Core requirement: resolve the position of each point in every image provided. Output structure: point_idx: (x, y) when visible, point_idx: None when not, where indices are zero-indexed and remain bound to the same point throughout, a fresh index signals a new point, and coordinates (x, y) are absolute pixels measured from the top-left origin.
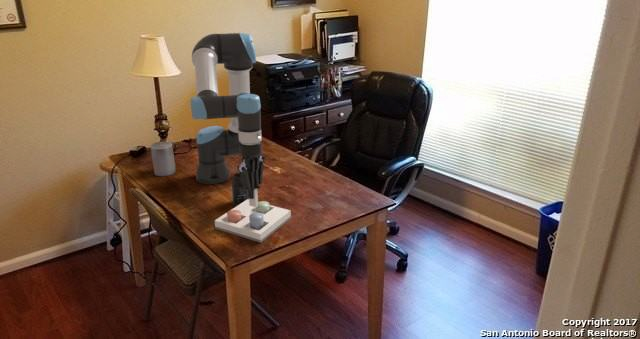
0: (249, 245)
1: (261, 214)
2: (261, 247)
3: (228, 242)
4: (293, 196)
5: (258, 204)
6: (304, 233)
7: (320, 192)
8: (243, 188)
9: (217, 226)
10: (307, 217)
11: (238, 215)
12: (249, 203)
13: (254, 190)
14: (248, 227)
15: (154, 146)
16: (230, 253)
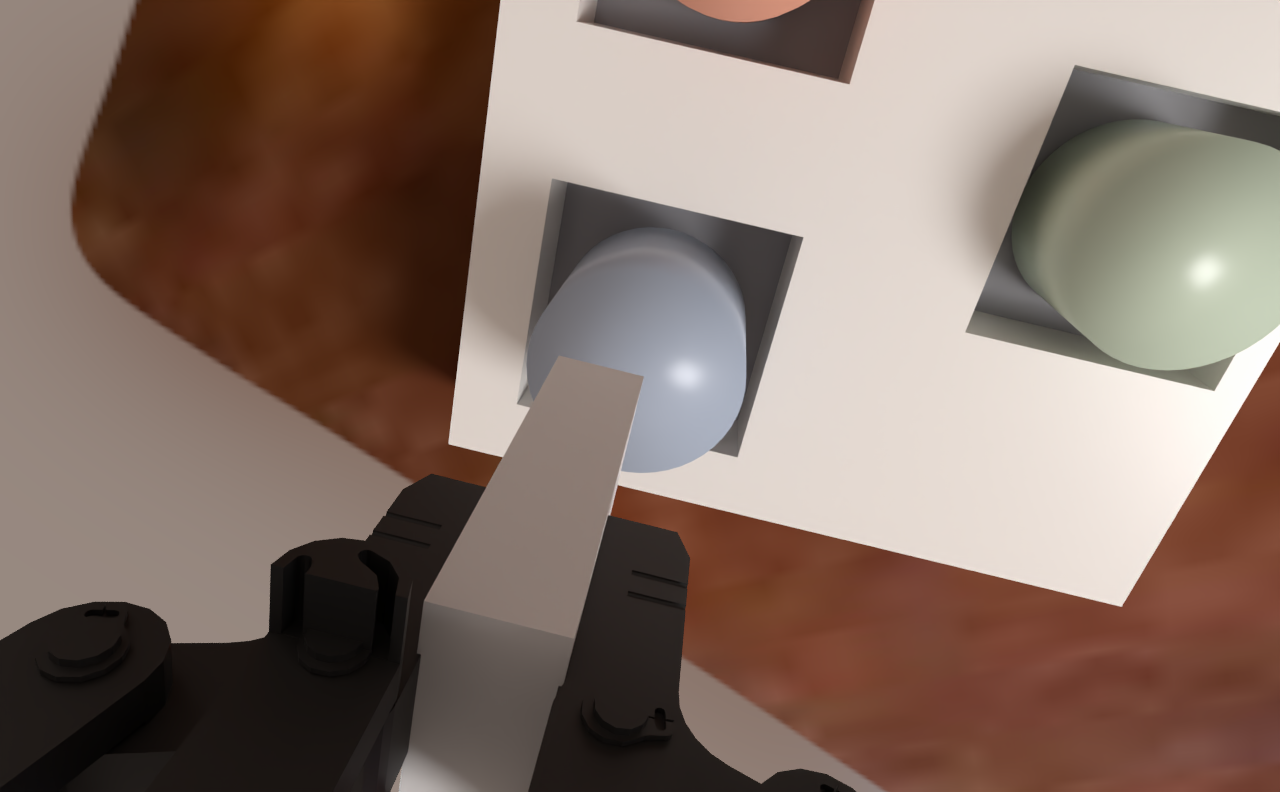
0: (392, 305)
1: (704, 429)
2: (409, 429)
3: (345, 40)
4: None
5: (1172, 197)
6: (776, 706)
7: None
8: (14, 635)
9: None
10: (1119, 680)
11: (693, 8)
12: (548, 378)
13: (401, 774)
14: (539, 251)
15: None
16: (174, 174)
